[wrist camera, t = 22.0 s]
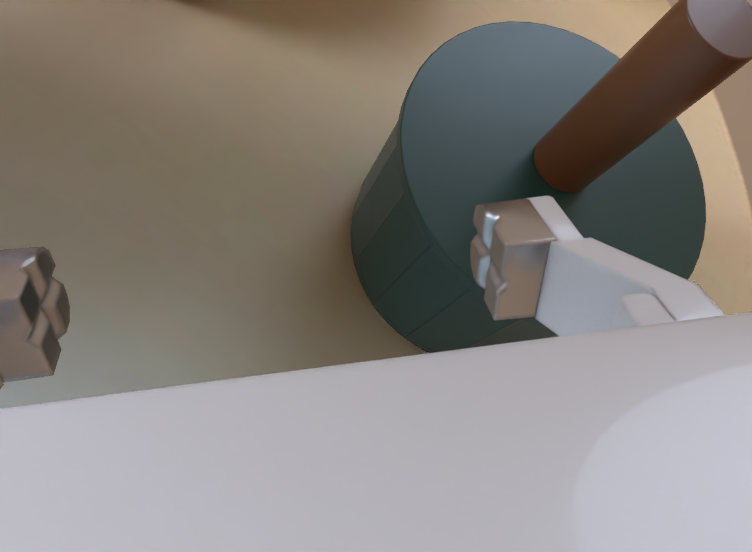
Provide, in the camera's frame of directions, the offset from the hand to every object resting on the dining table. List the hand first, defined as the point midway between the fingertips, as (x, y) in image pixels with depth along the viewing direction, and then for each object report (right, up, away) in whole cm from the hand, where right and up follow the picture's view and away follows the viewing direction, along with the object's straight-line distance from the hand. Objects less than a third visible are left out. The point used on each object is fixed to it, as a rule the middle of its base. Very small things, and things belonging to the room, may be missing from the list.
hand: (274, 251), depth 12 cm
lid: (+10, +4, +15) cm, 19 cm away
